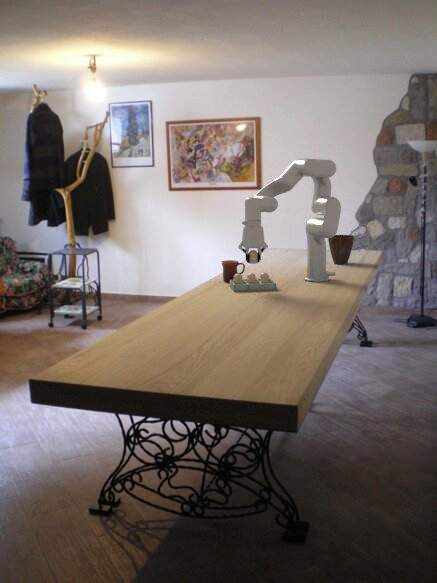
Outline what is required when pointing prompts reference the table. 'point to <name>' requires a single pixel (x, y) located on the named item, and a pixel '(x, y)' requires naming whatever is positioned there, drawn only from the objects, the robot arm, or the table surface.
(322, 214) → the robot arm
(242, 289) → the carton
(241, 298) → the table surface
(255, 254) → the egg
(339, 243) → the plant pot
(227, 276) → the mug
